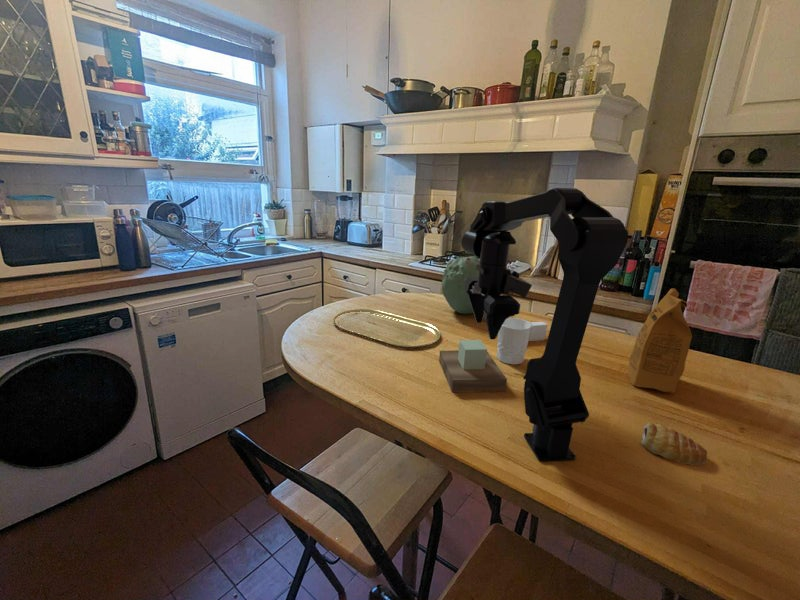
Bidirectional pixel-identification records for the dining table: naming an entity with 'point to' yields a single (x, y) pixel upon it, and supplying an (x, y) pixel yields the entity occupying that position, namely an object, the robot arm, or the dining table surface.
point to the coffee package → (661, 346)
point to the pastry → (672, 445)
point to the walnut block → (471, 374)
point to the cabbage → (459, 282)
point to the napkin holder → (537, 331)
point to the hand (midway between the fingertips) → (485, 330)
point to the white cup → (513, 340)
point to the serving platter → (402, 319)
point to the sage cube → (472, 354)
